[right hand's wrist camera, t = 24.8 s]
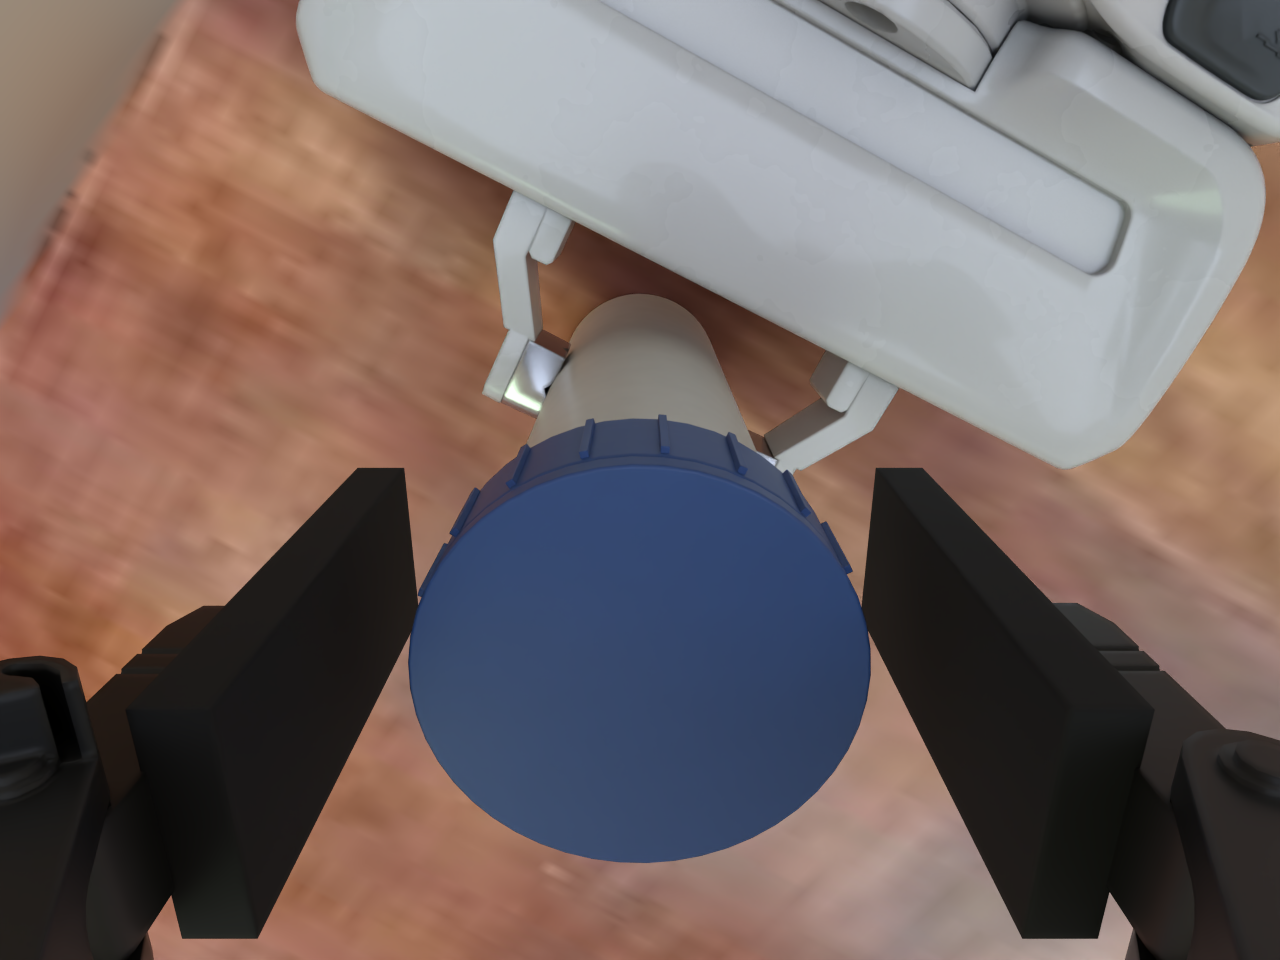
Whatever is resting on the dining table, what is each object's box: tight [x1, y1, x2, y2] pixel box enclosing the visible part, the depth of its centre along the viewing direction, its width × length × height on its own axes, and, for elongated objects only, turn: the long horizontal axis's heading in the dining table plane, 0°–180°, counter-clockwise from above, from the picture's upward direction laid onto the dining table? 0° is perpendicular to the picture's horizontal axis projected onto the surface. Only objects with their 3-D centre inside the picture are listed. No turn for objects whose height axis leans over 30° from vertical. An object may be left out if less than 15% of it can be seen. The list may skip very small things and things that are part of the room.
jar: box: [526, 294, 757, 453], centre depth 19 cm, size 5×5×17 cm
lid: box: [408, 414, 871, 863], centre depth 11 cm, size 6×6×2 cm
